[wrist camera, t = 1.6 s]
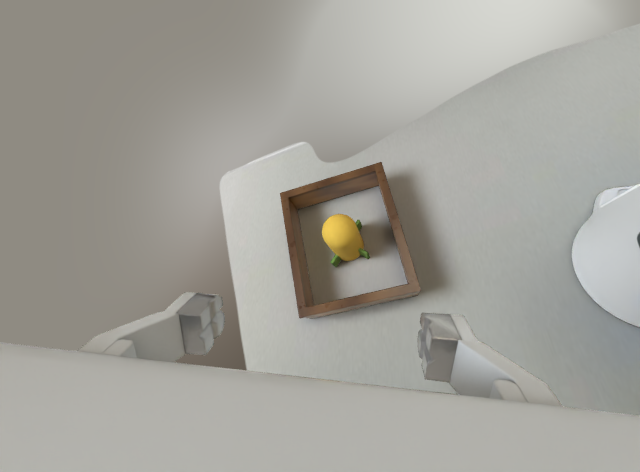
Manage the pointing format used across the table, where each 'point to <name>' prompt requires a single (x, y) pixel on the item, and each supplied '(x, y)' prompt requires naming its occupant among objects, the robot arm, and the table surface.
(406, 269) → the wooden box
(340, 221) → the corn plush toy
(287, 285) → the table surface
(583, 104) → the table surface
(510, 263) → the table surface
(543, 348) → the table surface
